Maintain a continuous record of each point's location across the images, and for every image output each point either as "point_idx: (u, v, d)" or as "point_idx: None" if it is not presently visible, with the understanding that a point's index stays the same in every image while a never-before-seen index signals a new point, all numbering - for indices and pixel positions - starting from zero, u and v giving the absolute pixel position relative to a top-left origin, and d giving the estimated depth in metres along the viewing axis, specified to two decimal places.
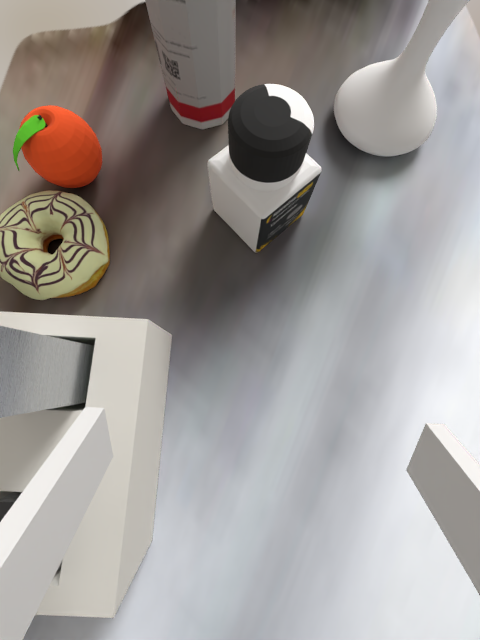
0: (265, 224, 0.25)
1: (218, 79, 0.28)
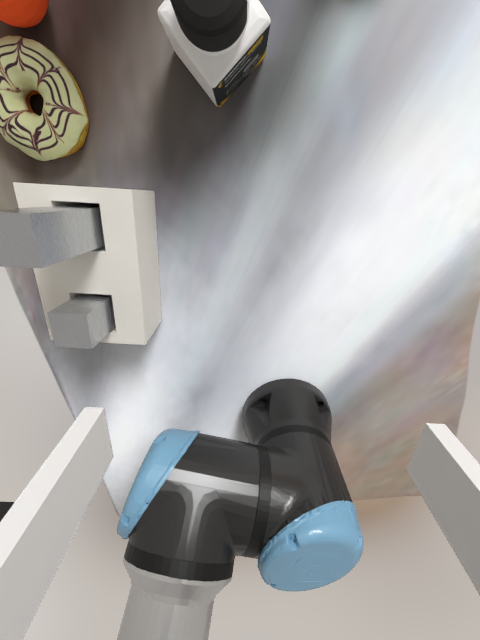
0: (218, 89, 0.28)
1: None
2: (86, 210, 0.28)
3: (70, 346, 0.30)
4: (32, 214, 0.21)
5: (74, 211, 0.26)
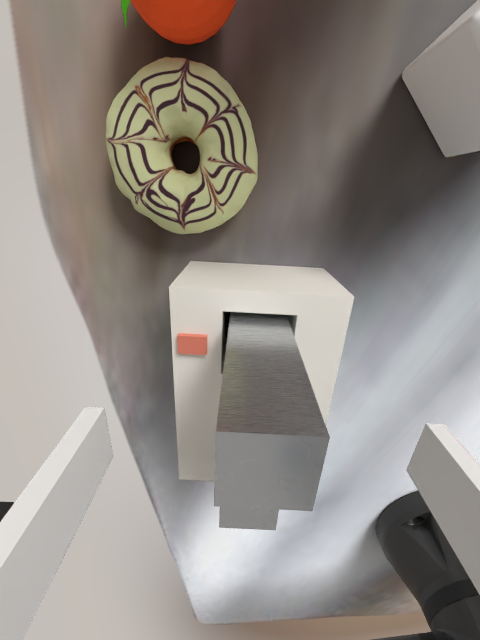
0: None
1: None
2: None
3: (243, 527, 0.20)
4: (325, 430, 0.10)
5: None
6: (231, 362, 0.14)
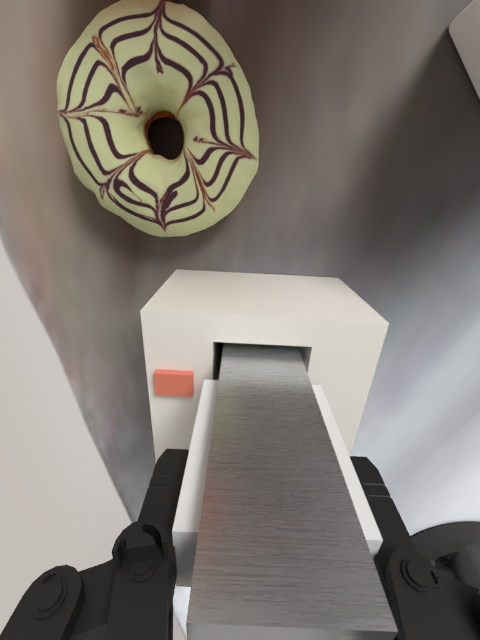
0: None
1: None
2: None
3: None
4: (386, 605, 0.06)
5: (319, 412, 0.11)
6: (222, 435, 0.09)
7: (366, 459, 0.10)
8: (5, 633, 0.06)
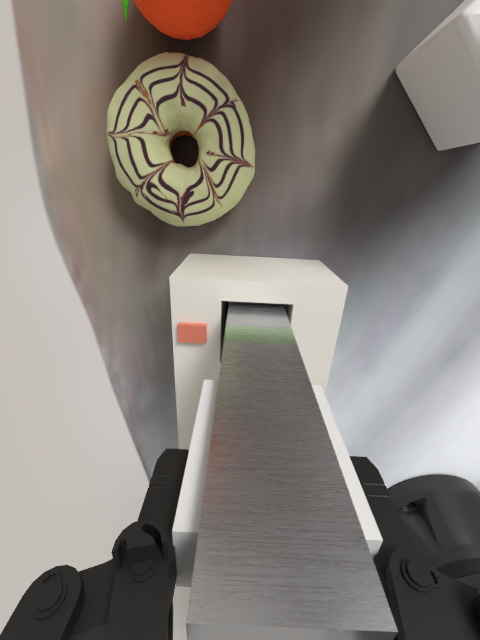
0: None
1: None
2: None
3: None
4: (386, 605, 0.06)
5: (319, 412, 0.11)
6: (221, 435, 0.09)
7: (366, 459, 0.10)
8: (5, 633, 0.06)
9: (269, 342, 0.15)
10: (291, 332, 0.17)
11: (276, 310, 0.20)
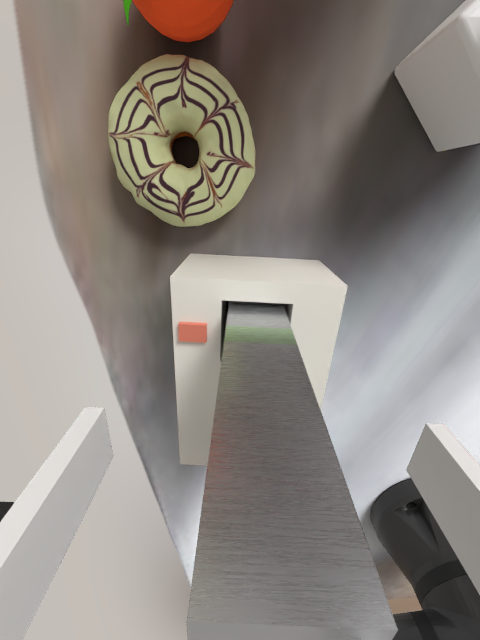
0: None
1: None
2: None
3: None
4: (386, 604, 0.06)
5: (319, 411, 0.11)
6: (222, 434, 0.09)
7: None
8: None
9: (269, 342, 0.15)
10: (291, 332, 0.17)
11: (276, 310, 0.20)
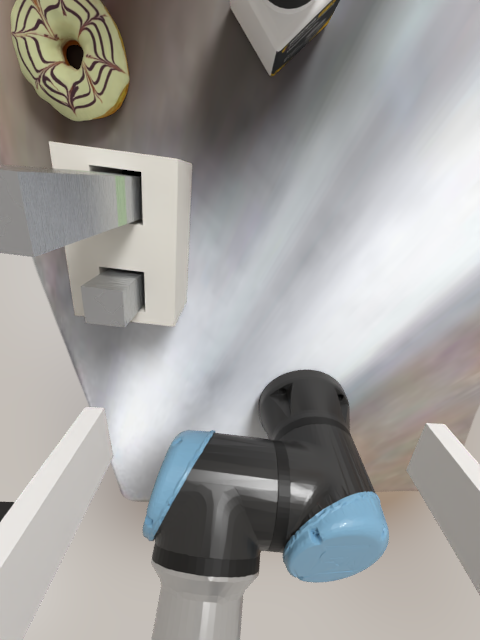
0: (281, 54, 0.25)
1: None
2: (99, 177, 0.20)
3: (101, 323, 0.29)
4: (22, 173, 0.13)
5: (83, 176, 0.19)
6: (9, 165, 0.17)
7: None
8: None
9: (96, 173, 0.23)
10: (121, 175, 0.24)
11: None
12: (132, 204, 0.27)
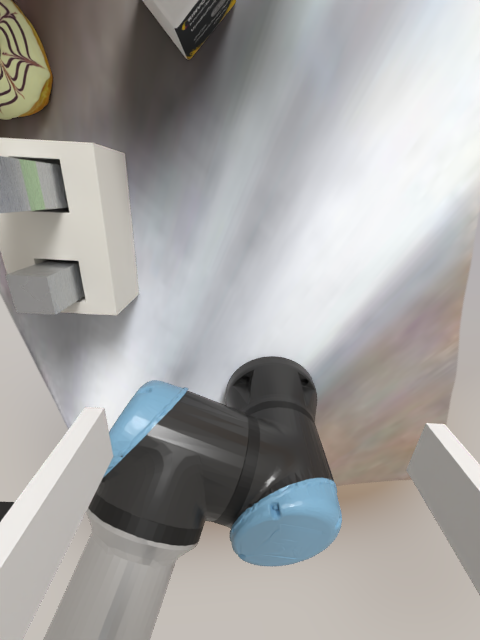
0: (182, 32, 0.26)
1: None
2: None
3: (32, 312, 0.29)
4: None
5: None
6: None
7: None
8: None
9: None
10: (29, 160, 0.25)
11: None
12: (53, 191, 0.28)
